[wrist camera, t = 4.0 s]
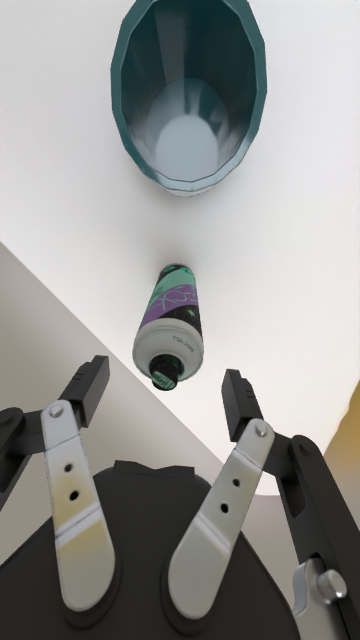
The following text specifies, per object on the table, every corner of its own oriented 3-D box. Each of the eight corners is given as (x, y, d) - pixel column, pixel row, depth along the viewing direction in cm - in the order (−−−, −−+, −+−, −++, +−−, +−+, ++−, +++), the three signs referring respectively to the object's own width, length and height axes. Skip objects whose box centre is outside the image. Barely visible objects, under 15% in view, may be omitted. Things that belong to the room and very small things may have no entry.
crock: (139, 190, 25) (114, 182, 16) (140, 65, 20) (105, -47, 11) (223, 201, 25) (243, 198, 16) (245, 80, 20) (291, -17, 11)
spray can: (194, 298, 32) (204, 411, 14) (159, 297, 32) (126, 408, 14) (196, 263, 29) (212, 349, 12) (158, 262, 29) (116, 346, 12)
